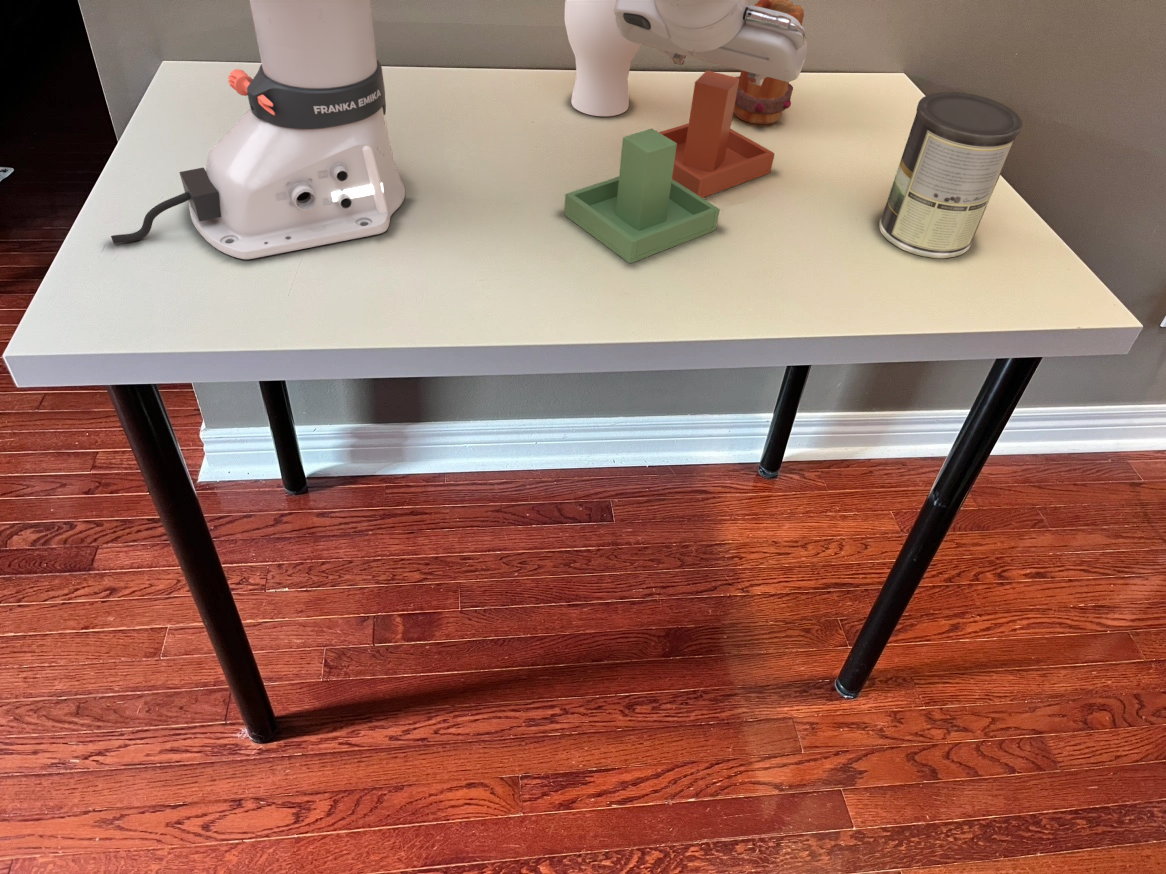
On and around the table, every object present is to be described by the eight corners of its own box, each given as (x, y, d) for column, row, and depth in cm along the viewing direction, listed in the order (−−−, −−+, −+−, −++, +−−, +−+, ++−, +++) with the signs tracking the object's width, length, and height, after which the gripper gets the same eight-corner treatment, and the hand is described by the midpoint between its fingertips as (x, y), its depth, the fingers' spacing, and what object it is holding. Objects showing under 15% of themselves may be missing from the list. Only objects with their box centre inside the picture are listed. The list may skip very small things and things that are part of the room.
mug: (785, 137, 115) (813, 16, 104) (723, 127, 115) (744, 6, 105) (789, 92, 125) (815, -22, 114) (731, 84, 126) (752, -30, 115)
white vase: (562, 85, 122) (568, -33, 111) (639, 91, 122) (651, -26, 111) (558, 118, 114) (563, -5, 104) (639, 125, 114) (653, 3, 104)
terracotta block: (713, 173, 105) (728, 90, 98) (682, 164, 106) (694, 81, 99) (724, 159, 108) (739, 78, 101) (694, 151, 109) (706, 70, 102)
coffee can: (859, 218, 101) (897, 97, 91) (929, 204, 104) (974, 86, 94) (917, 266, 94) (966, 141, 84) (990, 249, 97) (1045, 127, 88)
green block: (638, 231, 95) (647, 152, 88) (615, 214, 97) (622, 136, 90) (666, 220, 96) (677, 143, 90) (642, 204, 99) (651, 127, 92)
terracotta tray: (696, 200, 101) (699, 179, 100) (632, 159, 107) (635, 139, 106) (770, 173, 107) (775, 153, 105) (706, 136, 113) (709, 116, 112)
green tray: (630, 263, 91) (632, 242, 89) (564, 214, 97) (565, 193, 95) (716, 230, 97) (720, 209, 95) (648, 186, 103) (651, 165, 101)
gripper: (817, -7, 83) (817, 63, 97) (621, -51, 89) (646, 21, 102) (792, 56, 84) (796, 117, 97) (598, 8, 89) (626, 72, 102)
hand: (717, 68), depth 100 cm, fingers open, 8 cm apart
